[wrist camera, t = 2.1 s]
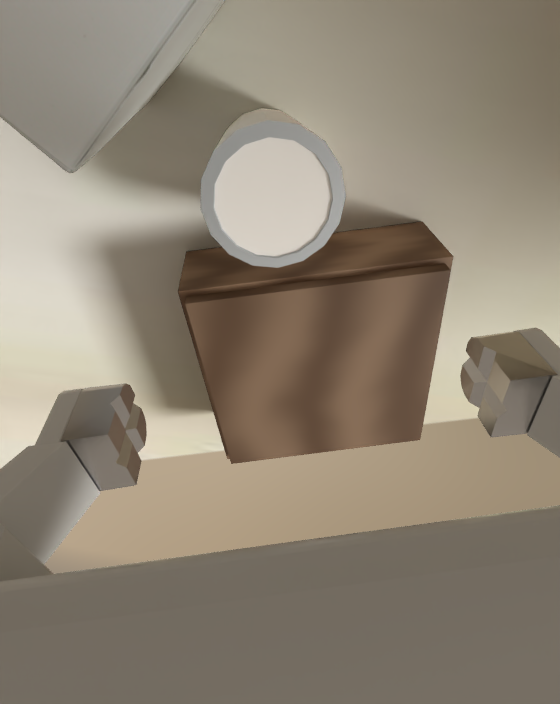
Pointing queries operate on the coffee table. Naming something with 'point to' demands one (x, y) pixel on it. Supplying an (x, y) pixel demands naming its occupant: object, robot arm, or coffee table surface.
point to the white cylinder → (271, 190)
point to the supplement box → (89, 66)
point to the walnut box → (319, 341)
